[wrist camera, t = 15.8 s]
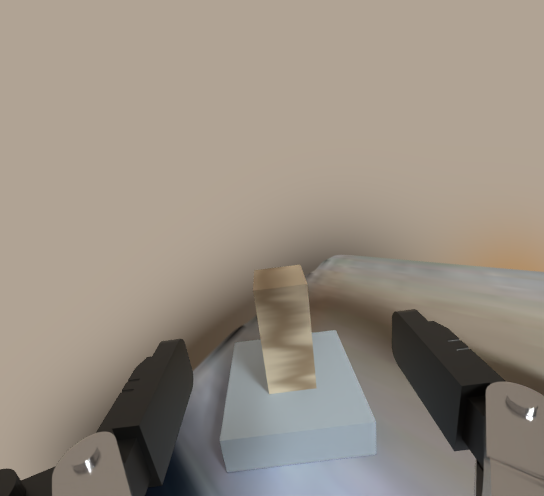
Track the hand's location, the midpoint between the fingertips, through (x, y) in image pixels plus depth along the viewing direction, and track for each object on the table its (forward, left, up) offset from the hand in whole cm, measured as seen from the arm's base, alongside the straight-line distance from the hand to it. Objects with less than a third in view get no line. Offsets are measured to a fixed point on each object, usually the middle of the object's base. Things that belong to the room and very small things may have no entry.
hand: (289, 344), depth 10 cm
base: (0, -16, -20) cm, 26 cm away
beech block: (0, -16, -16) cm, 23 cm away
